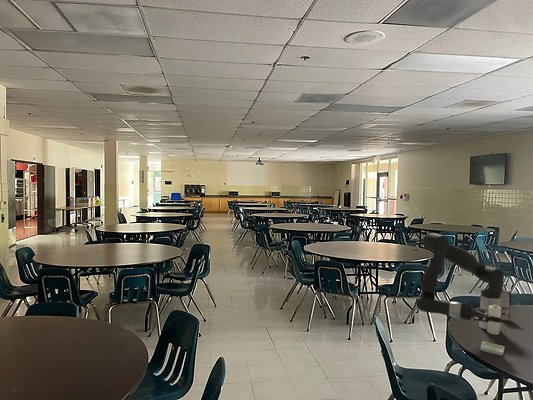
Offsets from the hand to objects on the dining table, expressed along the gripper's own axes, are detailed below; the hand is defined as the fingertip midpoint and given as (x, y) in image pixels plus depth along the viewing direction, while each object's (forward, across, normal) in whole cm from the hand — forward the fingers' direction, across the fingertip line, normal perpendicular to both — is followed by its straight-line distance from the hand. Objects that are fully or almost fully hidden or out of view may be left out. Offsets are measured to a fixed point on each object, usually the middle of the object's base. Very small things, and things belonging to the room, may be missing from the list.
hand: (500, 318), depth 184 cm
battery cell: (-3, 0, +7) cm, 7 cm away
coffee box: (-3, +58, +15) cm, 60 cm away
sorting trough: (-2, 0, +15) cm, 15 cm away
